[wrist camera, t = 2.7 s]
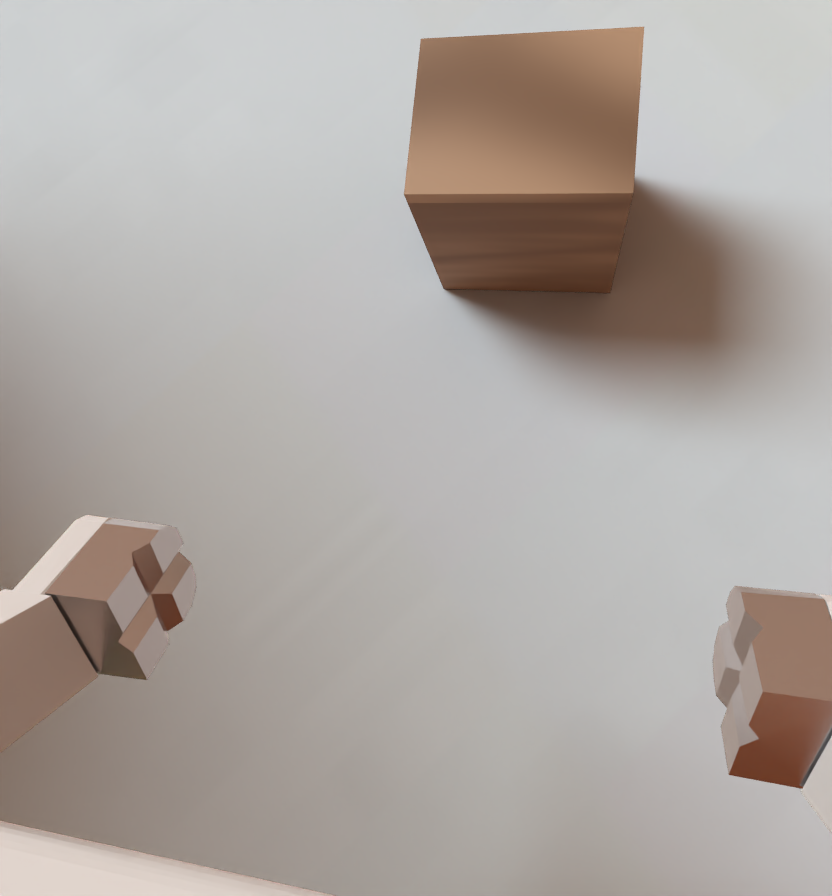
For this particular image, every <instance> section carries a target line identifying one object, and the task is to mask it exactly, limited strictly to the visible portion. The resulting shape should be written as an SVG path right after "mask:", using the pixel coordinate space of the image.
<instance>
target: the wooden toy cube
mask: <svg viewBox="0 0 832 896" xmlns="http://www.w3.org/2000/svg"><path fill="white" fill-rule="evenodd" d="M643 35H644V27H631V28H613V29H594V30H576V31H557V32H539V33H520V34H501V35H483V36H464V37H446V38H427V39H421V43H420V52H419V61H418V71H417V80H416V89H415V98H414V107H413V117H412V126H411V135H410V144H409V154H408V163H407V172H406V181H405V190H404V195H405V198H406V200H407V202H408V205H409V207H410V210H411V212H412V214H413V217H414V219H415V222H416V224H417V226H418V229H419V231H420V233H421V236H422V238H423V241H424V243H425V245H426V248H427V250H428V253H429V255H430V257H431V260H432V262H433V264H434V267H435V269H436V272H437V274H438V276H439V279H440V281H441V284H442V286H443V288H444V289H474V290H514V291H555V292H596V293H610V291H611V287H612V282H613V278H614V274H615V270H616V265H617V261H618V257H619V252H620V248H621V244H622V240H623V235H624V231H625V227H626V223H627V218H628V214H629V210H630V205H631V201H632V197H633V191H634V175H635V160H636V144H637V129H638V113H639V98H640V82H641V66H642V51H643Z"/></svg>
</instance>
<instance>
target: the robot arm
mask: <svg viewBox="0 0 832 896" xmlns="http://www.w3.org/2000/svg"><path fill="white" fill-rule="evenodd" d="M182 545H183V540H182V538H181V536H180V534H179V531H178V529H177V528H176V527H172V526H168V525H162V524H154V523H147V522H140V521H132V520H125V519H118V518H107V517H99V516H92V515H85V516H83V517H81V518H78V519H76V520H75V521H74V522H73V523H72V524H71V526H70V527H69V528H68V529H67V530H66V531H65V532H64V533H63V534H62V536H61V537H60V538H59V539H58V540H57V541H56V542H55V543H54V544H53V546H52V547H51V548H50V549H49V550H48V551H47V552H46V553H45V555H44V556H43V557H42V558H41V559H40V560H39V561H38V562H37V563H36V565H35V566H34V567H33V568H32V569H31V570H30V571H29V572H28V573H27V575H26V576H25V577H24V578H23V579H22V580H21V581H20V582H19V583H18V585H17V586H16V587H15V588H14V589H13V590H7V589H3V590H1V591H0V753H1V752H2V751H3V750H5V749H6V748H7V747H8V746H10V745H11V744H12V743H14V742H15V741H16V740H17V739H19V738H20V737H21V736H23V735H24V734H25V733H26V732H28V731H29V730H30V729H32V728H33V727H34V726H35V725H37V724H38V723H39V722H41V721H42V720H43V719H44V718H46V717H47V716H48V715H49V714H51V713H52V712H53V711H55V710H56V709H57V708H58V707H60V706H61V705H62V704H64V703H65V702H66V701H67V700H69V699H70V698H71V697H73V696H74V695H75V694H76V693H78V692H79V691H80V690H82V689H83V688H84V687H85V686H87V685H88V684H89V683H91V682H92V681H93V680H94V679H96V678H97V677H98V675H97V673H98V674H106V675H113V676H121V677H128V678H136V679H143V680H148V678H149V676H150V675H151V673H152V672H153V670H154V668H155V667H156V665H157V663H158V662H159V660H160V658H161V657H162V655H163V653H164V652H165V650H166V649H167V647H168V645H169V639H168V632H167V631H168V630H170V629H171V628H173V627H174V626H176V625H177V624H179V623H181V622H182V621H183V620H184V619H185V617H186V615H187V613H188V612H189V610H190V608H191V606H192V603H193V599H194V595H195V591H196V575H195V572H194V569H193V566H192V563H191V562H190V561H189V560H187V559H186V558H185V557H184V556H183V555H182V554H181V553H180V552H179V551H180V549H181V547H182ZM726 608H727V614H728V619H729V621H727V622H726V623H724V624H722V625H721V626H719V628H718V632H717V636H716V640H715V644H714V655H713V675H714V684H715V692H716V696H717V697H718V698H719V700H720V701H721V702H722V703H723V704H724V705H725V706H726V707H727V710H726V713H725V716H724V719H723V721H722V724H721V731H722V737H723V743H724V749H725V756H726V762H727V768H728V774H729V775H732V776H738V777H743V778H748V779H754V780H759V781H764V782H770V783H775V784H780V785H786V786H791V787H796V788H802V790H801V793H802V794H803V796H804V797H805V798H806V800H807V801H808V803H809V804H810V805H811V807H812V808H813V809H814V811H815V812H816V813H817V815H818V816H819V817H820V819H821V820H822V822H823V823H824V824H825V826H826V827H827V828H828V830H829V831H830V832H831V834H832V596H831V595H821V594H819V595H816V594H813V593H803V592H793V591H782V590H772V589H762V588H752V587H742V586H734V588H733V589H732V590H731V591H730V594H729V597H728V600H727V603H726ZM0 896H335V895H331V894H326V893H322V892H317V891H313V890H308V889H304V888H299V887H295V886H290V885H286V884H281V883H277V882H272V881H268V880H264V879H259V878H255V877H250V876H246V875H241V874H237V873H232V872H228V871H223V870H219V869H214V868H210V867H205V866H201V865H197V864H192V863H188V862H183V861H179V860H174V859H170V858H165V857H161V856H156V855H152V854H147V853H143V852H138V851H134V850H129V849H125V848H120V847H116V846H111V845H107V844H103V843H98V842H94V841H89V840H85V839H80V838H76V837H71V836H67V835H62V834H58V833H53V832H49V831H44V830H40V829H35V828H31V827H26V826H22V825H17V824H13V823H8V822H4V821H0Z"/></svg>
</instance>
